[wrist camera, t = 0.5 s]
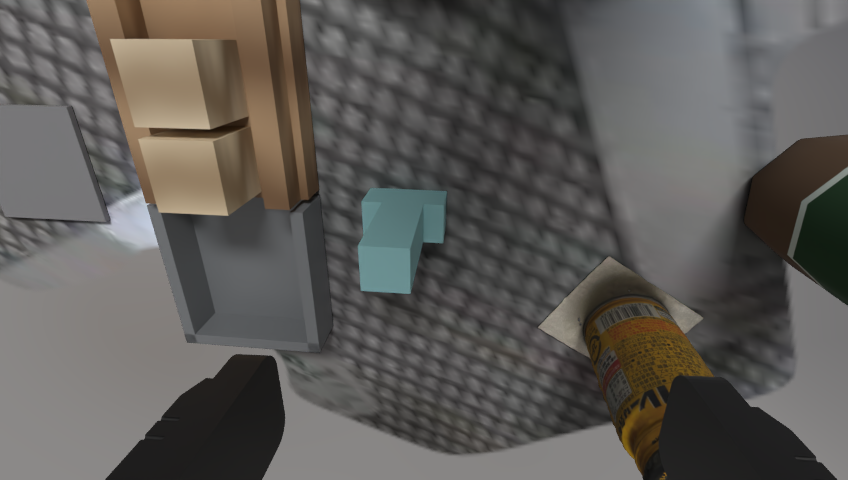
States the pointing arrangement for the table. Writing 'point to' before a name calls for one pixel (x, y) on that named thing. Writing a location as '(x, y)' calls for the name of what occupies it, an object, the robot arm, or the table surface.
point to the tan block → (201, 169)
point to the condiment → (630, 351)
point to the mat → (46, 166)
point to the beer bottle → (806, 210)
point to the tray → (249, 275)
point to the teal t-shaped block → (397, 235)
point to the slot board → (261, 71)
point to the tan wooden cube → (181, 82)
